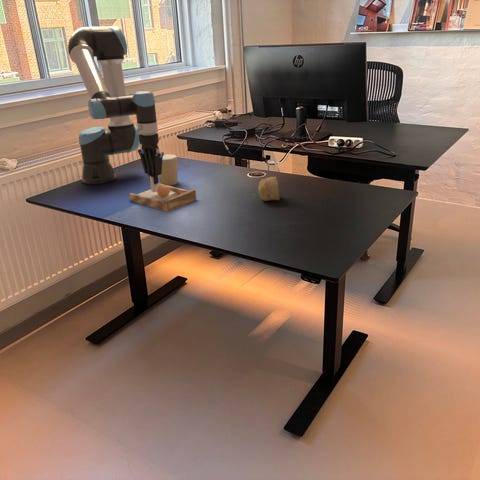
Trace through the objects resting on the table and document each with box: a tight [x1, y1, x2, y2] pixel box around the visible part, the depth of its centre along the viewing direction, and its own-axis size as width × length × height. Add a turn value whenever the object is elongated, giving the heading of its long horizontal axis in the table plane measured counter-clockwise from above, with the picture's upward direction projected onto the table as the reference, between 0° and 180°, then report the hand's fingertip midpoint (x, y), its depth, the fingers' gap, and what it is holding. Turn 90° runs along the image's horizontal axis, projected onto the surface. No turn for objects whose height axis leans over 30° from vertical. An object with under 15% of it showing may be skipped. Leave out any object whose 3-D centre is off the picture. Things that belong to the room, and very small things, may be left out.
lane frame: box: [128, 182, 197, 213], centre depth 191 cm, size 22×16×4 cm
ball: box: [157, 185, 170, 197], centre depth 189 cm, size 5×5×5 cm
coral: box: [257, 176, 281, 202], centre depth 186 cm, size 10×10×10 cm
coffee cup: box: [158, 153, 178, 186], centre depth 209 cm, size 9×9×12 cm
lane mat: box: [136, 188, 177, 202], centre depth 192 cm, size 20×14×2 cm
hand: (155, 190), depth 192 cm, fingers closed
